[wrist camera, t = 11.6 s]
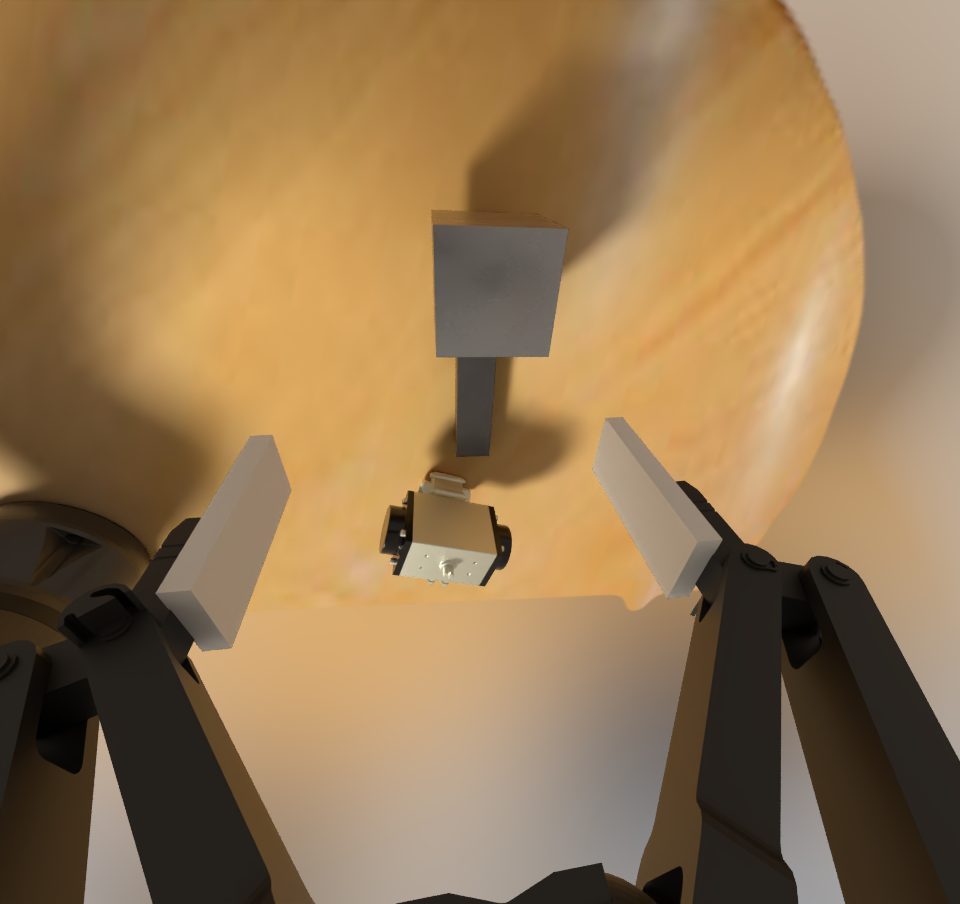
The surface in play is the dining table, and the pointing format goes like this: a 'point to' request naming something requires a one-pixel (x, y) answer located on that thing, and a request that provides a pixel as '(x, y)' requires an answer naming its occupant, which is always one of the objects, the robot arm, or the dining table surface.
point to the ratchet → (474, 405)
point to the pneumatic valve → (444, 535)
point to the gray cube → (495, 282)
